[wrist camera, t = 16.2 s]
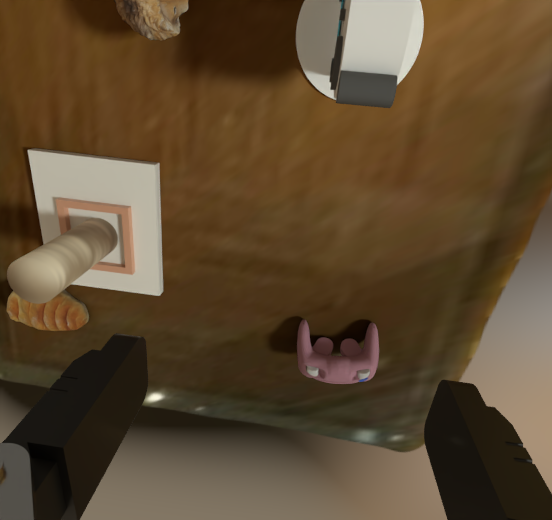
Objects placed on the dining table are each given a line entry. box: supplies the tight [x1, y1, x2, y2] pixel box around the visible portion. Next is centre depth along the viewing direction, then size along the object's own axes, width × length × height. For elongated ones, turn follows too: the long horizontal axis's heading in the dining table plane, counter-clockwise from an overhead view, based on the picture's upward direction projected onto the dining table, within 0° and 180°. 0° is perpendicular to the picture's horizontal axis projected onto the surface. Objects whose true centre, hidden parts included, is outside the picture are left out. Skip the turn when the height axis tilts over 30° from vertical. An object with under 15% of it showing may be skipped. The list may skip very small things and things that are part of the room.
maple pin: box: [7, 218, 118, 304], centre depth 40 cm, size 4×4×12 cm
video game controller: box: [297, 320, 379, 384], centre depth 47 cm, size 10×5×7 cm, turn 91°
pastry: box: [7, 289, 89, 331], centre depth 50 cm, size 9×7×4 cm
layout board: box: [28, 148, 163, 296], centre depth 45 cm, size 16×14×2 cm
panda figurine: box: [296, 0, 424, 108], centre depth 29 cm, size 12×11×15 cm
